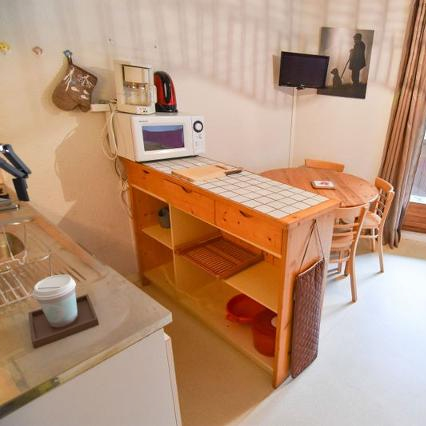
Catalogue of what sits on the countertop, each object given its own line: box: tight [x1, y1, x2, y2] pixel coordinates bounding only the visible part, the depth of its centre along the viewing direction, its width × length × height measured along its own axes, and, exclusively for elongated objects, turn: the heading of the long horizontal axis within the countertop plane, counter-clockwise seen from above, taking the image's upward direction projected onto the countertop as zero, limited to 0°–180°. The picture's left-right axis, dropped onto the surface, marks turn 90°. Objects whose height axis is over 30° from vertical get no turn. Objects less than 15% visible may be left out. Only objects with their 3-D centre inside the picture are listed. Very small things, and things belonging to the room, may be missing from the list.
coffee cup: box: [32, 274, 78, 328], centre depth 82 cm, size 8×8×12 cm
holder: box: [27, 293, 100, 349], centre depth 85 cm, size 13×13×2 cm
